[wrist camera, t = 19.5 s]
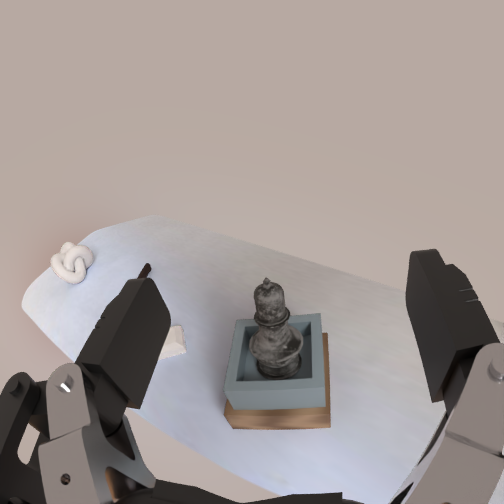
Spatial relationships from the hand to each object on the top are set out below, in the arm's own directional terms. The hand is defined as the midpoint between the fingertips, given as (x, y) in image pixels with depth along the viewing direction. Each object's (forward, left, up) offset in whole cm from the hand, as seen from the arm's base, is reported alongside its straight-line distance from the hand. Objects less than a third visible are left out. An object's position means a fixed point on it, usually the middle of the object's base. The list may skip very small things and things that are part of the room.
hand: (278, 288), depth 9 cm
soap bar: (+17, -29, -31) cm, 45 cm away
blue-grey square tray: (-1, -15, -26) cm, 30 cm away
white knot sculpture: (+42, -62, -30) cm, 81 cm away
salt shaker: (-1, -15, -24) cm, 28 cm away
